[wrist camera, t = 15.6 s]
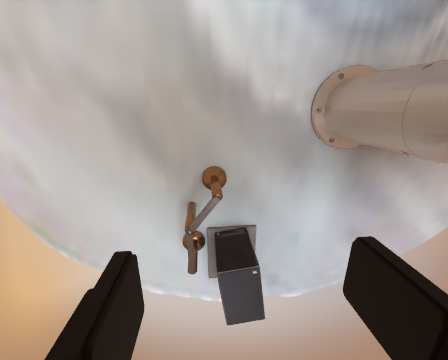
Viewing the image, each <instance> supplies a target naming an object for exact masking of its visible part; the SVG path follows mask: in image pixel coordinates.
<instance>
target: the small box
mask: <svg viewBox="0 0 448 360" xmlns="http://www.w3.org/2000/svg"><path fill="white" fill-rule="evenodd" d="M215 254H216V267H217V276H218V282H219V289H220V294H221V299H222V304H223V308H224V313H225V318H226V323H227V325H233V324H239V323H245V322H250V321H256V320H263V319H265V314H264V304H263V294H262V284H261V274H260V266H259V263H258V260H257V257H256V254H255V252H254V249H253V246H252V243H251V240H250V237H249V233H248V230H247V228H246V227H245V228H240V229H234V230H228V231H221V232H216V233H215Z"/></svg>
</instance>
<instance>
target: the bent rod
mask: <svg viewBox="0 0 448 360" xmlns="http://www.w3.org/2000/svg"><path fill="white" fill-rule="evenodd" d="M203 183H204V185H205V186H206V187H207V188H208V189H210V190H212V197H213V198H212V199H211V200H210V201H209V203H208V204H207V205H206V206H205V208H204V209H203V210H202V211H201V212H200V214H199V215H198V216H197V217H196V204H195V203H194V202H191V203H189V204H188V210H187V218H186V225H185V232H186V234H185V236H184V238H183V245H184V247H185V248H186V249H187V250H188V259H189V261H188V273H189V274H195V273H196V272H197V253H198V250H200V249H202V248H203V246H204V244H205V237H204V235H203V234H202V233H201V232H199V231H195V230H196V229H197V227H198V226H199V225H200V224H201V223H202V221H203V220H204V219H205V218H206V217H207V215H208V214H209V213H210V212H211V211H212V209H213V208H214V207H215V206H216V205H217V203H218V202H219V201H220V200H221V199H222V197H223V195H222V190H221V188H222V187H223V186H224V185H225V183H226V174H225V172H224V171H223V170H222V169H221V168H219V167H210V168H208V169H207V170H206V171H205V172H204V174H203Z"/></svg>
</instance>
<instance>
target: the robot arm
mask: <svg viewBox="0 0 448 360" xmlns="http://www.w3.org/2000/svg"><path fill="white" fill-rule="evenodd" d="M338 76H339V77H338ZM317 108H318V111H317ZM312 123H313V127H314V129H315V132H316V134H317V135H318V136H319V138H320V139H321V140H322V141H323V142H324V143H326V144H328V145H330V146H333V147H335V148H340V149H350V148H355V147H358V146H360V145H362V144H364V145H368V146H372V147H376V148H380V149H384V150H388V151H392V152H396V153H400V154H405V155H409V156H413V157H417V158H421V159H425V160H430V161H434V162H439V163H445V164H448V60H443V61H438V62H432V63H427V64H421V65H416V66H411V67H405V68H400V69H394V70H389V71H383V72H378V71H377V70H375V69H374V68H371V67H369V66H363V65H356V66H350V67H346V68H343V69H341V70H339V71H337V72H335V73H334V74H332V75H331V76H330V77H329V78H328V79H327V80H326V81H325V82H324V83H323V84H322V86H321V87H320V88H319V90H318V92H317V94H316V96H315V99H314V102H313V106H312ZM329 139H330V140H329ZM343 293H344V296H345V297H346V299H347V300H348V301H349V303H350V304H351V306H352V307H353V308H354V310H355V311H356V312H357V314H358V315H359V316H360V318H361V319H362V320H363V322H364V323H365V324H366V326H367V327H368V329H369V330H370V331H371V332H372V334H373V335H374V336H375V338H376V339H377V341H378V342H379V343H380V344H381V346H382V347H383V348H384V350H385V351H386V353H387V354H388V355H389V357H390V358H391V359H392V360H448V294H446V293H445V292H444V291H442V290H441V289H440V288H439V287H437V286H436V285H435V284H433V283H432V282H431V281H430V280H428V279H427V278H426V277H424V276H423V275H422V274H420V273H419V272H418V271H417V270H415V269H414V268H413V267H411V266H410V265H409V264H407V263H406V262H405V261H404V260H402V259H401V258H400V257H398V256H397V255H396V254H395V253H393V252H392V251H391V250H389V249H388V248H387V247H385V246H384V245H383V244H382V243H380V242H379V241H378V240H376V239H375V238H374V237H371V236H368V237H358V238H356V240H355V241H353V243H352V247H351V252H350V257H349V261H348V266H347V271H346V276H345V280H344V286H343ZM143 313H144V300H143V294H142V288H141V281H140V275H139V268H138V262H137V256H136V255H135V254H133V255H132V252H131V251H121V252H115V253H114V254H113V256H112V258H111V260H110V261H109V263H108V265H107V266H106V268H105V270H104V271H103V273H102V275H101V277H100V278H99V280H98V282H97V283H96V285H95V287H94V288H93V289H89V290H88V291H87V293H85V295H84V297H83V298H82V300H81V301H80V303H79V305H78V306H77V308H76V310H75V311H74V313H73V314H72V316H71V318H70V319H69V321H68V322H67V324H66V326H65V327H64V329H63V331H62V332H61V334H60V336H59V337H58V339H57V340H56V342H55V344H54V345H53V347H52V348H51V350H50V352H49V353H48V355H47V357H46V358H45V360H131V357H132V354H133V350H134V346H135V343H136V339H137V336H138V332H139V329H140V325H141V321H142V318H143Z"/></svg>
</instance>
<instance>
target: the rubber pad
mask: <svg viewBox="0 0 448 360" xmlns="http://www.w3.org/2000/svg"><path fill="white" fill-rule="evenodd" d="M245 227H246V228H247V230H248V233H249V237H250V240H251V243H252V246H253V249H254V252H255V242H256V225H247V226H228V227H209V228H207V237H208V268H209V278H218V276H217V267H216V254H215V233H216V232H221V231H228V230H234V229H240V228H245Z"/></svg>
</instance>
